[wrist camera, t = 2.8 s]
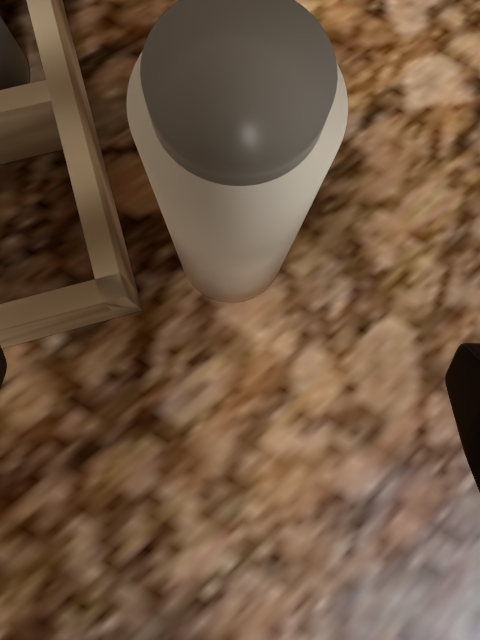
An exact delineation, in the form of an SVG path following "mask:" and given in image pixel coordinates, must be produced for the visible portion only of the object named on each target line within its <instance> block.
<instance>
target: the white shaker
mask: <svg viewBox="0 0 480 640" xmlns="http://www.w3.org/2000/svg"><path fill="white" fill-rule="evenodd" d="M126 107H127V118H128V123H129V127H130V131H131V134H132V137H133V139H134V142H135V145H136V147H137V150H138V152H139V155H140V158H141V160H142V163H143V165H144V168H145V171H146V173H147V176H148V178H149V181H150V184H151V186H152V189H153V192H154V194H155V197H156V199H157V202H158V205H159V207H160V210H161V212H162V215H163V218H164V220H165V223H166V225H167V228H168V231H169V233H170V236H171V238H172V241H173V244H174V246H175V249H176V252H177V254H178V257H179V259H180V262H181V265H182V267H183V270H184V272H185V274H186V276H187V278H188V280H189V281H190V282H191V284H192V285H193V286H194V287H195V288H196V289H197V290H198V291H199V292H201V293H202V294H204V295H205V296H207V297H209V298H211V299H214V300H217V301H221V302H228V303H235V302H242V301H246V300H249V299H252V298H254V297H256V296H258V295H260V294H261V293H262V292H264V291H265V290H266V289H267V288H268V287H269V286H270V285H271V284H272V282H273V281H274V279H275V278H276V276H277V274H278V272H279V270H280V268H281V266H282V264H283V262H284V260H285V258H286V256H287V254H288V252H289V250H290V248H291V246H292V244H293V242H294V239H295V237H296V235H297V233H298V231H299V229H300V227H301V225H302V223H303V221H304V219H305V217H306V215H307V213H308V211H309V209H310V207H311V205H312V203H313V201H314V199H315V197H316V195H317V193H318V190H319V188H320V186H321V184H322V182H323V180H324V178H325V176H326V174H327V172H328V170H329V168H330V166H331V164H332V162H333V160H334V158H335V156H336V154H337V152H338V149H339V147H340V145H341V142H342V140H343V137H344V133H345V130H346V126H347V117H348V98H347V92H346V86H345V83H344V79H343V76H342V73H341V71H340V69H339V67H338V65H337V62H336V57H335V53H334V50H333V47H332V44H331V42H330V40H329V38H328V36H327V34H326V32H325V31H324V29H323V28H322V26H321V24H320V23H319V22H318V21H317V20H316V18H315V17H314V16H313V15H312V14H311V13H310V12H309V11H308V10H307V9H305V8H304V7H303V6H302V5H300V4H299V3H298V2H296V1H295V0H179V1H177V2H176V3H175V4H173V5H172V6H171V7H170V8H169V9H167V10H166V11H165V13H164V14H163V15H162V16H161V17H160V18H159V19H158V21H157V22H156V23H155V25H154V26H153V28H152V29H151V31H150V33H149V35H148V37H147V39H146V42H145V45H144V48H143V51H142V53H141V54H140V56H139V58H138V60H137V62H136V63H135V65H134V68H133V71H132V74H131V76H130V80H129V85H128V90H127V102H126Z"/></svg>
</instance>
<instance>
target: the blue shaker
mask: <svg viewBox="0 0 480 640" xmlns="http://www.w3.org/2000/svg"><path fill="white" fill-rule="evenodd" d="M29 81H30V69H29V64H28V62H27V59H26V57H25V55H24V53H23V52H22V50H21V49H20V47H19V45H18V44H17V42H16V40H15V39H14V37H13V36H12V34H11V32H10V31H9V29H8V28H7V26H6V24H5V23H4V21H3V19H2V18H1V16H0V90H3V89H7V88H12V87H16V86H20V85H25V84H29Z"/></svg>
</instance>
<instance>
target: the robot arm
mask: <svg viewBox="0 0 480 640" xmlns="http://www.w3.org/2000/svg"><path fill="white" fill-rule="evenodd" d="M6 369H7V362H6V358H5V356H4V353H3V350H2V348H1V345H0V389H1V386H2V383H3V380H4V377H5V374H6ZM445 382H446V387H447V391H448V395H449V399H450V402H451V406H452V410H453V413H454V417H455V421H456V424H457V428H458V432H459V436H460V439H461V443H462V446H463V449H464V453H465V455H466V458H467V461H468V464H469V466H470V469H471V471H472V474H473V476H474V479H475V482H476V484H477V487H478V489H479V492H480V343H463V344H461V345H460V346H459V347H458V349H457V351H456V353H455V355H454V357H453V359H452V362H451V364H450V366H449V368H448V370H447V373H446V377H445Z"/></svg>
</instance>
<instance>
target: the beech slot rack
mask: <svg viewBox="0 0 480 640" xmlns="http://www.w3.org/2000/svg"><path fill="white" fill-rule="evenodd" d="M0 1H1V0H0ZM27 4H28V9H29V13H30V17H31V21H32V25H33V29H34V33H35V37H36V41H37V45H38V49H39V53H40V57H41V62H42V66H43V70H44V74H45V78H46V80H42V81H38V82H33V83H29V84H25V85H20V86H16V87H12V88H7V89H3V90H0V165H1V164H5V163H9V162H13V161H17V160H21V159H26V158H30V157H34V156H38V155H42V154H46V153H51V152H55V151H59V150H63V151H64V155H65V159H66V163H67V168H68V172H69V176H70V180H71V184H72V188H73V192H74V196H75V200H76V204H77V208H78V212H79V216H80V220H81V225H82V229H83V233H84V237H85V241H86V245H87V249H88V253H89V257H90V261H91V265H92V269H93V273H94V278H95V279H94V280H90V281H86V282H82V283H78V284H75V285H71V286H67V287H63V288H59V289H56V290H52V291H48V292H44V293H40V294H37V295H33V296H29V297H25V298H21V299H18V300H14V301H10V302H6V303H2V304H0V345H1V348H6V347H10V346H13V345H17V344H21V343H24V342H28V341H32V340H35V339H39V338H43V337H46V336H50V335H54V334H58V333H61V332H65V331H69V330H72V329H76V328H80V327H83V326H87V325H91V324H94V323H98V322H102V321H105V320H109V319H113V318H117V317H120V316H124V315H128V314H131V313H135V312H139V311H142V307H141V303H140V299H139V295H138V291H137V287H136V284H135V280H134V276H133V272H132V268H131V264H130V260H129V256H128V252H127V249H126V245H125V241H124V237H123V233H122V229H121V225H120V221H119V218H118V214H117V210H116V206H115V202H114V198H113V194H112V190H111V186H110V183H109V179H108V175H107V171H106V167H105V163H104V159H103V155H102V152H101V148H100V144H99V140H98V136H97V132H96V128H95V124H94V120H93V117H92V113H91V109H90V105H89V101H88V97H87V93H86V89H85V86H84V82H83V78H82V74H81V70H80V66H79V62H78V58H77V54H76V51H75V47H74V43H73V39H72V35H71V31H70V27H69V23H68V20H67V16H66V12H65V8H64V4H63V0H27Z"/></svg>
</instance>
